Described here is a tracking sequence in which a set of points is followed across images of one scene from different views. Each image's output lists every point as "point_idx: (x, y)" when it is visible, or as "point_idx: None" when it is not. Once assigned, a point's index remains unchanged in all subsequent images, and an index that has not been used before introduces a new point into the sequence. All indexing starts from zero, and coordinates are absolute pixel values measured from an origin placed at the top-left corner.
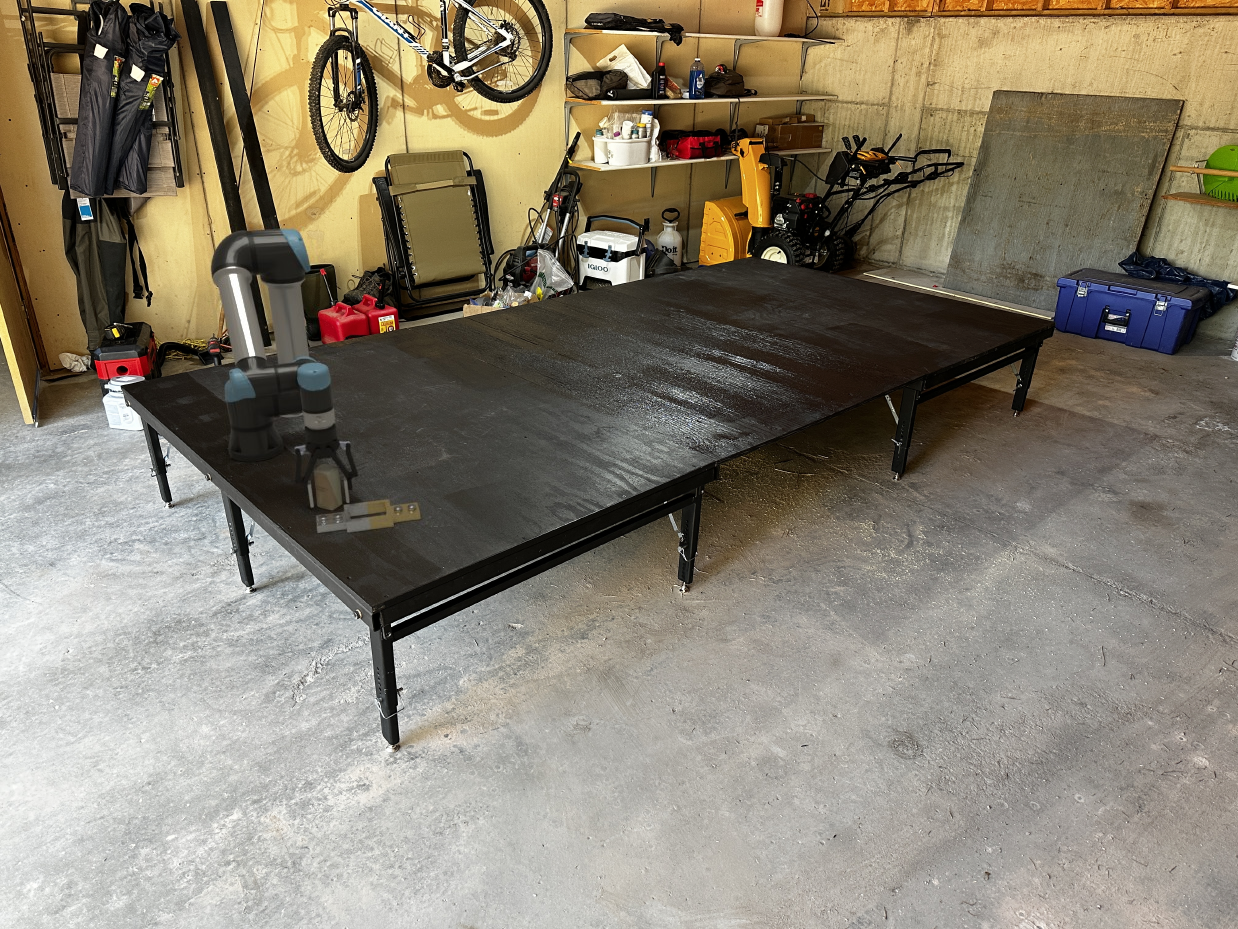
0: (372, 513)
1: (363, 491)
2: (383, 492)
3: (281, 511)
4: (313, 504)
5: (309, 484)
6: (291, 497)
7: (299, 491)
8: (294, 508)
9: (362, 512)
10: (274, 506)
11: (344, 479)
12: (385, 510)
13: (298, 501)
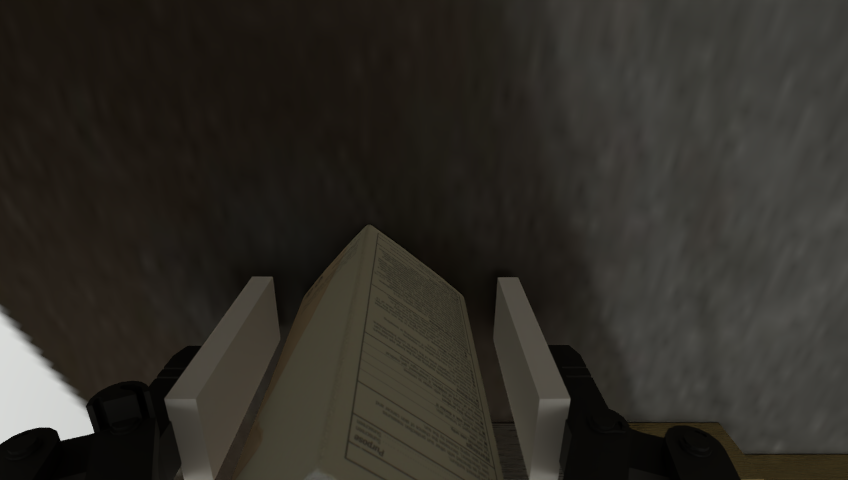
0: None
1: (639, 155)
2: (767, 210)
3: (75, 294)
4: (275, 330)
5: (199, 467)
6: (93, 102)
7: (137, 3)
8: (154, 277)
9: None
10: (3, 215)
11: (539, 448)
12: None
13: (162, 185)
